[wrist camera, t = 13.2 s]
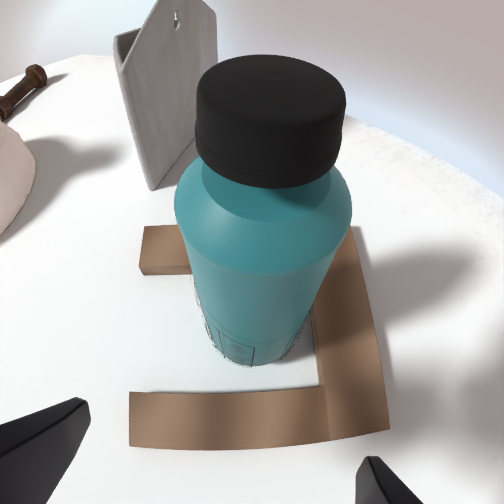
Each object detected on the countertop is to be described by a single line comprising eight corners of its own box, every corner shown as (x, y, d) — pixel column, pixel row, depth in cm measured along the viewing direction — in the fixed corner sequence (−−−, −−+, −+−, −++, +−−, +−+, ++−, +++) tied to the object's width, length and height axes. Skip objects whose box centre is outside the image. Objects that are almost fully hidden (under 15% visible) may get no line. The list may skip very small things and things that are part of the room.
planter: (169, 99, 41) (154, -29, 24) (220, 107, 40) (217, -33, 23) (97, 176, 33) (43, 18, 16) (154, 192, 31) (111, 5, 15)
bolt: (-8, 139, 41) (42, 89, 48) (-3, 130, 38) (51, 78, 46) (-26, 119, 37) (26, 70, 44) (-22, 109, 34) (35, 58, 42)
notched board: (344, 229, 30) (348, 220, 28) (381, 429, 20) (390, 428, 19) (148, 236, 29) (144, 226, 27) (135, 445, 19) (129, 446, 18)
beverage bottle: (311, 343, 24) (448, 118, 7) (236, 390, 22) (222, 212, 5) (264, 279, 27) (298, 25, 10) (192, 318, 25) (115, 66, 8)
